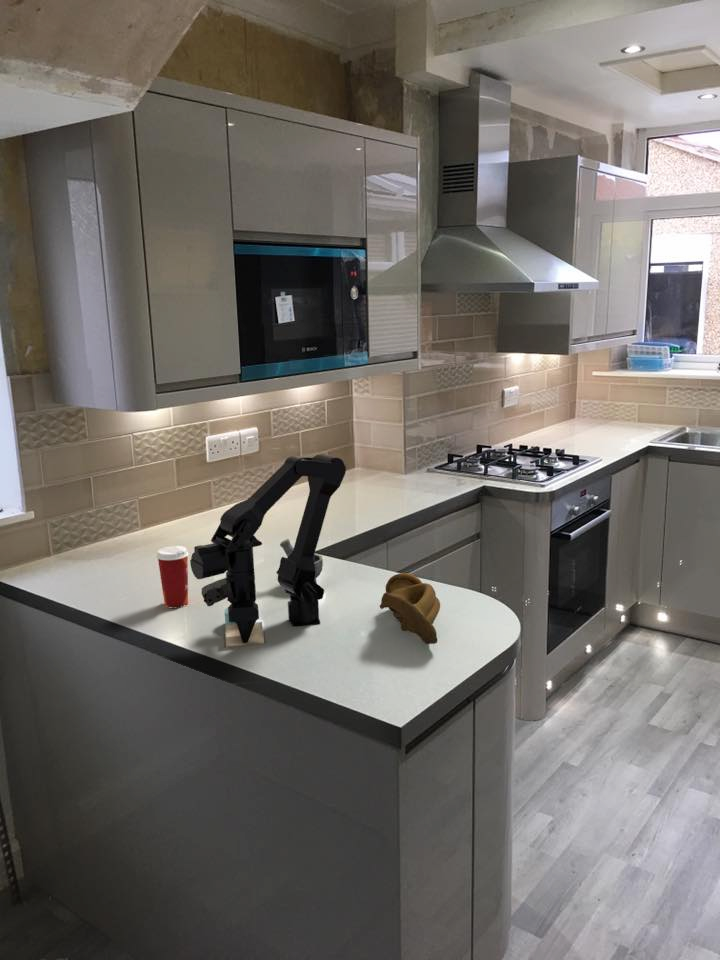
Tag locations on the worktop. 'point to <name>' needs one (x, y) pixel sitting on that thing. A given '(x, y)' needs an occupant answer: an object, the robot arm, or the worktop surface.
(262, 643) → the mat
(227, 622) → the ramekin
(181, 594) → the paper cup
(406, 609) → the brown looped sculpture
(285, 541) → the mortar and pestle
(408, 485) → the worktop surface
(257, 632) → the board
